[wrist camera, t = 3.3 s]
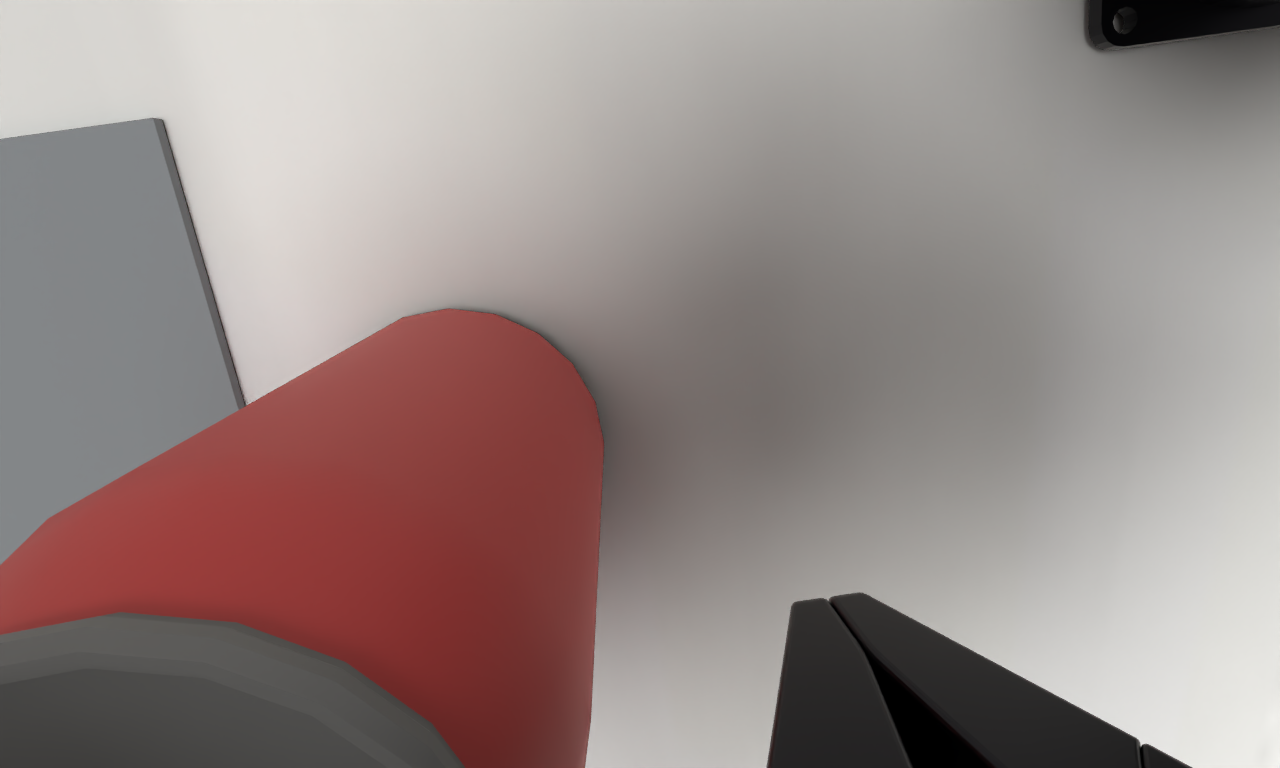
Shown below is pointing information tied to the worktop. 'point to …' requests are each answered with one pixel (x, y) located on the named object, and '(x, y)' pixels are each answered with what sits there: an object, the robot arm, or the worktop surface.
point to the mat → (98, 318)
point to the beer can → (329, 575)
